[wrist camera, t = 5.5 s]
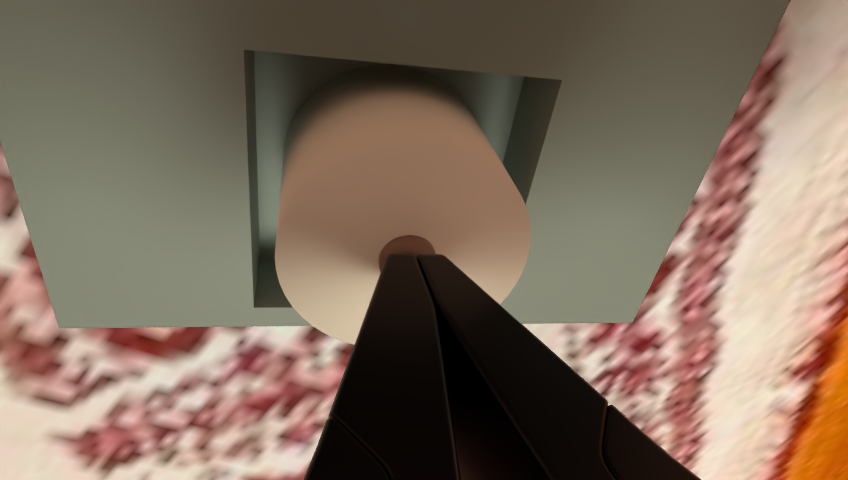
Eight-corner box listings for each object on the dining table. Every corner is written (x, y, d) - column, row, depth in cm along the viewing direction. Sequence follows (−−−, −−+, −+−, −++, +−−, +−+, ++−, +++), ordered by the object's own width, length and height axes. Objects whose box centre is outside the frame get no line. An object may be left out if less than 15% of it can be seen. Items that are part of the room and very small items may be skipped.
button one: (283, 241, 12) (274, 360, 9) (284, 54, 10) (273, 138, 7) (462, 245, 13) (503, 355, 10) (500, 75, 10) (566, 156, 8)
